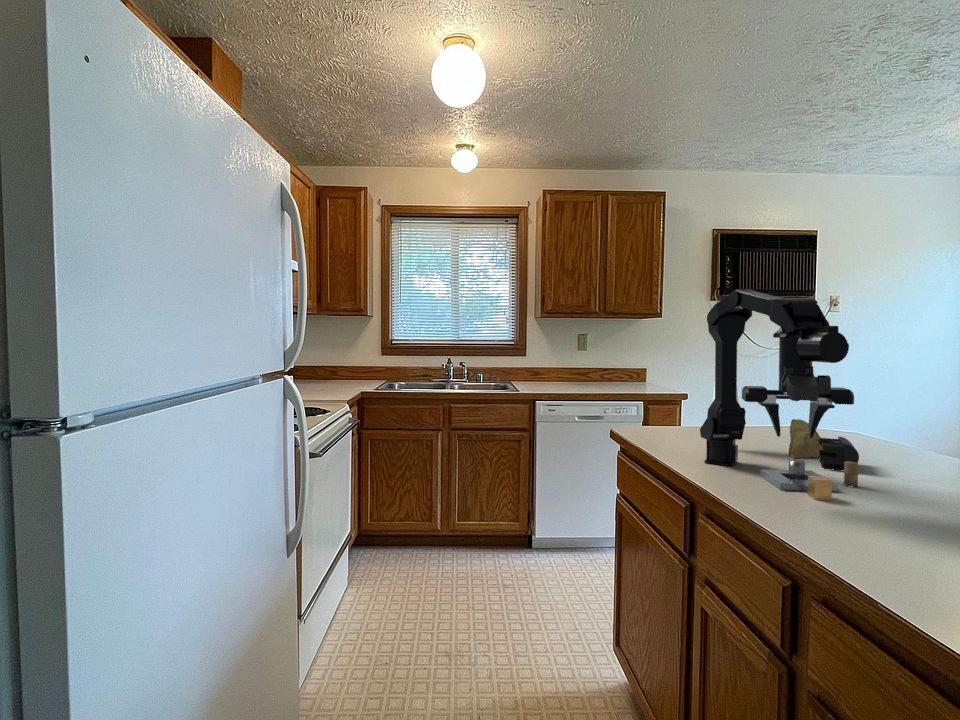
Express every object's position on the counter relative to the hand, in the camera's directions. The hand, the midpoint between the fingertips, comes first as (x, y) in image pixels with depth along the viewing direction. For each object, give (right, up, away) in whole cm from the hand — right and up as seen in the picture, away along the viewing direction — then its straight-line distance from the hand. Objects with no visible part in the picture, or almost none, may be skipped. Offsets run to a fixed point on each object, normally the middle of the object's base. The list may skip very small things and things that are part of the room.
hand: (794, 437), depth 104 cm
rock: (+24, -10, +33) cm, 42 cm away
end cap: (+24, -11, +22) cm, 35 cm away
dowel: (+16, -11, +6) cm, 21 cm away
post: (+6, -12, +9) cm, 16 cm away
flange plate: (+5, -12, +6) cm, 14 cm away
